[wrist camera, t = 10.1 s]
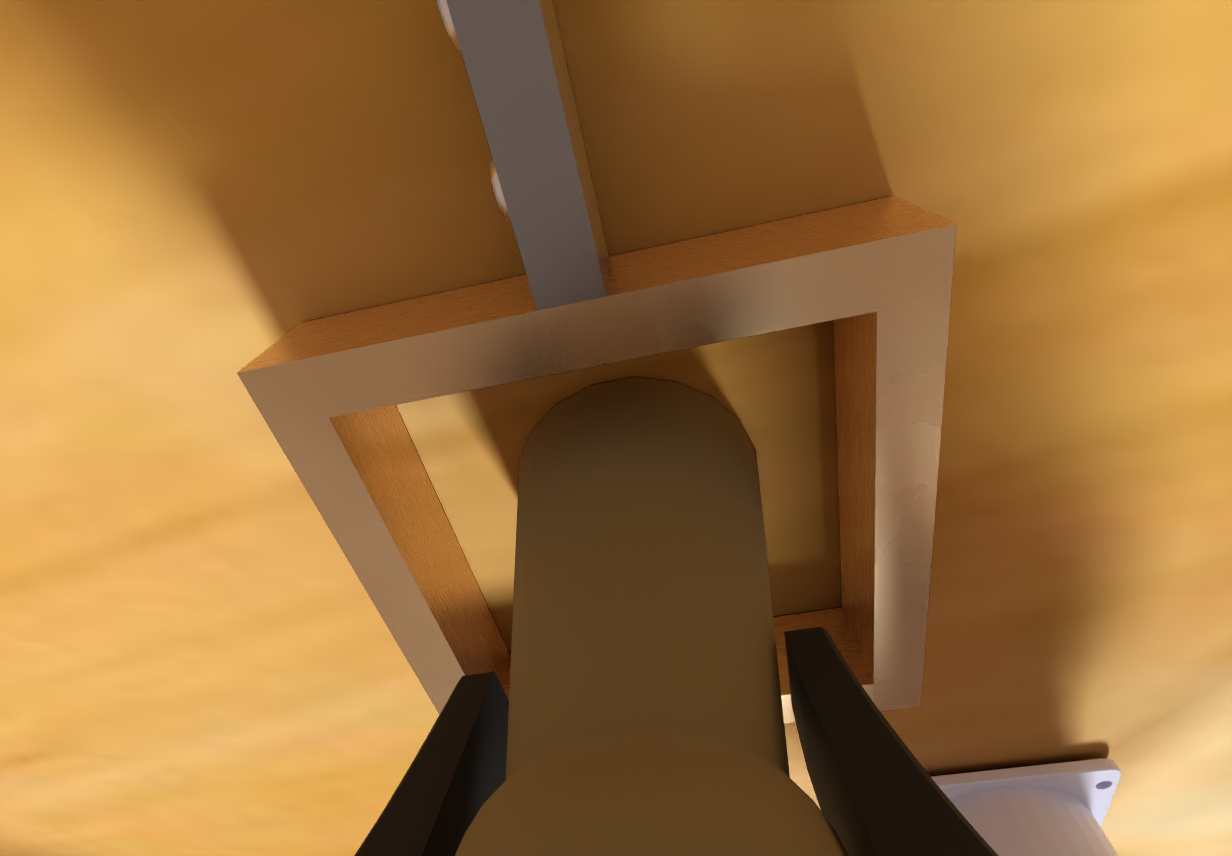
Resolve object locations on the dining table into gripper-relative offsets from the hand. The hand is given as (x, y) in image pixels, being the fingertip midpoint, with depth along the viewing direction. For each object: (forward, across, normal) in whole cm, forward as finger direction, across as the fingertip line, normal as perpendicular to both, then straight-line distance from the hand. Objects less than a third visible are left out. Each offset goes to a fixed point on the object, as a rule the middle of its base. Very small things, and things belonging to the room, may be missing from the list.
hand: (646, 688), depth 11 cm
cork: (+6, 0, 0) cm, 6 cm away
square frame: (+5, 0, 0) cm, 5 cm away
